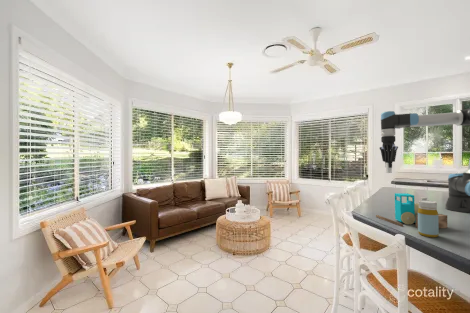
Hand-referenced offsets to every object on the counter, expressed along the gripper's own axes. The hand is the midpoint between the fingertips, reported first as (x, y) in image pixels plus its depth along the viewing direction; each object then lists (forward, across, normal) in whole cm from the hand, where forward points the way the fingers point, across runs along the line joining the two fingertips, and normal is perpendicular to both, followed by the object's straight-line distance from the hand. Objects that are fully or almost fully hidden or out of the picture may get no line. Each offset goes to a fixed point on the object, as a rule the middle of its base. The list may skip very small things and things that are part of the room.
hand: (388, 172), depth 147 cm
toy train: (+25, +25, -6) cm, 36 cm away
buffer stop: (+24, +34, -6) cm, 42 cm away
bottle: (+25, +43, -17) cm, 52 cm away
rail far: (+24, +21, -18) cm, 37 cm away
